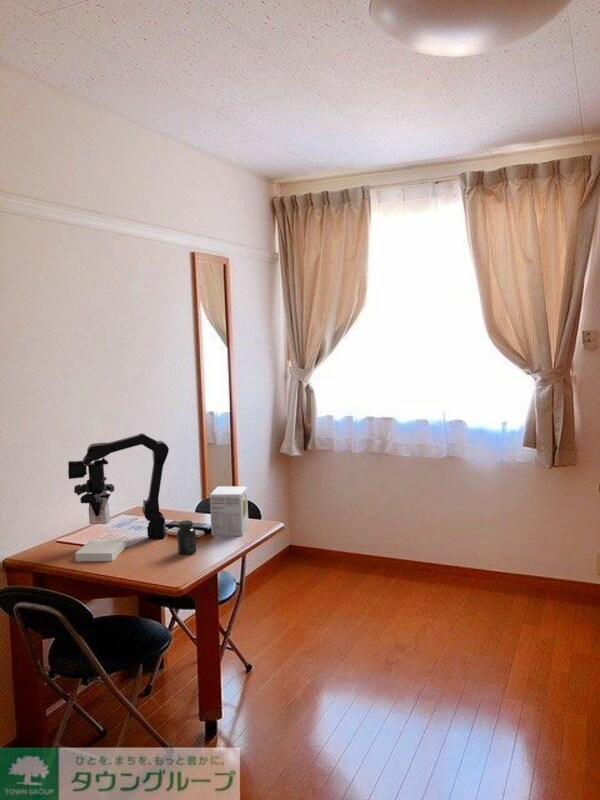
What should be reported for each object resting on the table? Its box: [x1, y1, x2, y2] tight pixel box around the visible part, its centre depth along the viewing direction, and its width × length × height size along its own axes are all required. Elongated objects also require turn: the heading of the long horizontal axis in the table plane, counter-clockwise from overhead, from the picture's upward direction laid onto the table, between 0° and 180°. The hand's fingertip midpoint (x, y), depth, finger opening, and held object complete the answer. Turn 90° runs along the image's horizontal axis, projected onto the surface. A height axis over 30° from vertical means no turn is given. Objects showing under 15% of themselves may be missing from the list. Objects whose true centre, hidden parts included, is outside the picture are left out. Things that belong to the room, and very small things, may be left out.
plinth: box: [74, 539, 127, 562], centre depth 229 cm, size 14×14×3 cm
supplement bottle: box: [176, 519, 197, 556], centre depth 227 cm, size 7×7×12 cm
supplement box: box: [209, 485, 249, 537], centre depth 251 cm, size 13×13×18 cm
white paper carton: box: [88, 498, 111, 525], centre depth 238 cm, size 4×7×10 cm, turn 85°
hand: (99, 514), depth 238 cm, fingers closed on white paper carton, 4 cm apart
